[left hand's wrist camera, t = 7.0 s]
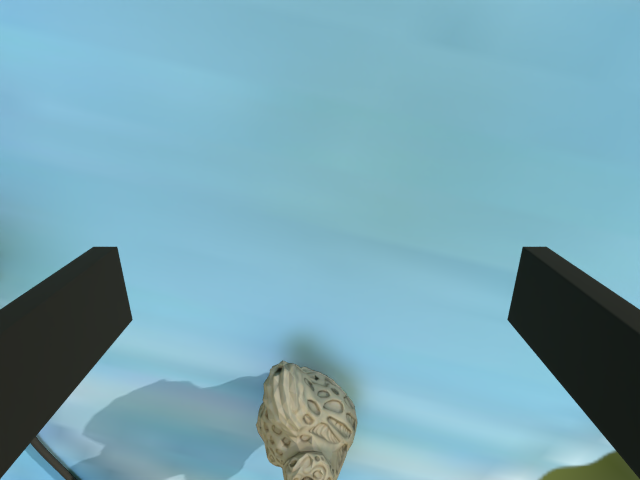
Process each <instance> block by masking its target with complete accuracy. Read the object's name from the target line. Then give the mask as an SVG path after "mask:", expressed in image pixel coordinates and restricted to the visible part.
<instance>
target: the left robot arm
mask: <svg viewBox="0 0 640 480" xmlns="http://www.w3.org/2000/svg"><path fill="white" fill-rule="evenodd" d="M131 321H132V315H131V310H130V306H129V301H128V296H127V291H126V287H125V282H124V277H123V272H122V267H121V263H120V258H119V253H118V248H117V247H93V248H91V249H90V250H88V251H87V252H85V253H84V254H82V255H81V256H79V257H78V258H76V259H75V260H73V261H72V262H70V263H69V264H67V265H66V266H64V267H63V268H61V269H60V270H58V271H57V272H55V273H54V274H52V275H51V276H49V277H48V278H47V279H45V280H44V281H42V282H41V283H39V284H38V285H36V286H35V287H33V288H32V289H30V290H29V291H27V292H26V293H24V294H23V295H21V296H20V297H18V298H17V299H15V300H14V301H12V302H11V303H9V304H8V305H6V306H5V307H3V308H2V309H1V310H0V479H1V477H2V476H3V475H4V474H5V473H6V471H7V470H8V469H9V468H10V467H11V465H12V464H13V463H14V462H15V460H16V459H17V458H18V457H19V456H20V454H21V453H22V452H23V451H24V450H25V448H26V447H27V446H28V445H29V444H30V442H31V441H32V440H33V439H34V438H35V436H36V435H37V434H38V433H39V432H40V430H41V429H42V428H43V427H44V426H45V424H46V423H47V422H48V421H49V420H50V418H51V417H52V416H53V415H54V414H55V412H56V411H57V410H58V409H59V408H60V406H61V405H62V404H63V403H64V402H65V400H66V399H67V398H68V397H69V396H70V394H71V393H72V392H73V391H74V390H75V388H76V387H77V386H78V385H79V384H80V382H81V381H82V380H83V379H84V378H85V376H86V375H87V374H88V373H89V371H90V370H91V369H92V368H93V367H94V365H95V364H96V363H97V362H98V361H99V359H100V358H101V357H102V356H103V355H104V353H105V352H106V351H107V350H108V349H109V347H110V346H111V345H112V344H113V343H114V341H115V340H116V339H117V338H118V337H119V335H120V334H121V333H122V332H123V331H124V329H125V328H126V327H127V326H128V325H129V323H130V322H131ZM508 321H509V322H510V323H511V325H512V326H513V327H514V328H515V329H516V331H517V332H518V333H519V334H520V335H521V337H522V338H523V339H524V340H525V341H526V343H527V344H528V345H529V346H530V347H531V349H532V350H533V351H534V352H535V353H536V355H537V356H538V357H539V358H540V359H541V361H542V362H543V363H544V364H545V365H546V367H547V368H548V369H549V370H550V371H551V373H552V374H553V375H554V376H555V378H556V379H557V380H558V381H559V382H560V384H561V385H562V386H563V387H564V388H565V390H566V391H567V392H568V393H569V394H570V396H571V397H572V398H573V399H574V400H575V402H576V403H577V404H578V405H579V406H580V408H581V409H582V410H583V411H584V412H585V414H586V415H587V416H588V417H589V418H590V420H591V421H592V422H593V423H594V424H595V426H596V427H597V428H598V429H599V430H600V432H601V433H602V434H603V435H604V436H605V438H606V439H607V440H608V441H609V442H610V444H611V445H612V446H613V447H614V448H615V450H616V451H617V452H618V453H619V454H620V456H621V457H622V458H623V459H624V460H625V462H626V463H627V464H628V465H629V467H630V468H631V469H632V470H633V471H634V472H635V474H636V475H637V476H638V477H639V478H640V310H639V309H638V308H637V307H635V306H634V305H632V304H631V303H629V302H628V301H626V300H625V299H623V298H622V297H620V296H619V295H617V294H616V293H614V292H613V291H611V290H610V289H608V288H607V287H605V286H604V285H602V284H601V283H599V282H598V281H596V280H595V279H593V278H592V277H591V276H589V275H588V274H586V273H585V272H583V271H582V270H580V269H579V268H577V267H576V266H574V265H573V264H571V263H570V262H568V261H567V260H565V259H564V258H562V257H561V256H559V255H558V254H556V253H555V252H553V251H552V250H550V249H549V248H547V247H523V248H522V253H521V258H520V263H519V267H518V272H517V277H516V282H515V287H514V291H513V296H512V301H511V306H510V310H509V315H508Z"/></svg>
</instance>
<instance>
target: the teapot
mask: <svg viewBox="0 0 640 480" xmlns="http://www.w3.org/2000/svg"><path fill="white" fill-rule="evenodd" d="M346 395H347V394H346V393H345V392H344V391H343V390H342V389H341V387H340V386H338V385H337V384H336V383H335V381H334V380H333V379H331V378H329V377H328V376H326V375H324V374H322V373H320V372H317V371H314V370H311V369H309V368H307V367H302V368H300V367H299V366H298V365H296V364H293V363H287V362H285V361H282V362H280V363H279V364H277V365H275V366H272V368H271V369H270V374H269V376H268V378H267V379H266V381H265V382H264V396H263V403H262V405H261V406H260V409H259V414H258V422H257V424H256V426H257V430H258V433H259V434H260V436H261V438H262V439H263V441H264V443H265V448H266V453H267V458H268V460H269V462H270V463H272V464H273V465H275V466H278V467H281V468H282V469H283V476H284V480H337V478H338V476H339V473H340V470H341V468H342V465H343V463H344V460H345V457H346V454H347V451H348V450H349V448H350V446H351V445H352V443H353V440H354V436H355V432H356V427H357V418H356V412H355V407H354V404H353V402H352V401H351V399H350V398H349V397H348V396H346Z"/></svg>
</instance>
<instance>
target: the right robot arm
mask: <svg viewBox="0 0 640 480" xmlns="http://www.w3.org/2000/svg"><path fill="white" fill-rule="evenodd" d="M30 443H31V444H32V446H33V447H34V448H35V449H36V450H37V451H38V452H39V453H40V455H41V456H42V457H43V458H44V459H45V460H46V461H47V462H48V463H49V464H51V465H52V466H53V467H54V468H55V469H56V470H57V471H58V472H59V473H60V474H61V475H62V476H63V477H64V478H65V479H66V480H77V479H76V478H75V477H74V476H73V475H72V474H71V473H70V472H69V471H68V470H67V469H66V468H65V467H64V466H63V465H62V464H61V463H60V462H59V461H58V460H57V459H56V458H55V457H54V456H53V455H52V454H51V453H50V452H49V451H48V450H47V449H46V448H45V447H44V446H43V445H42V444H41V442H40V441H39V440H38V439H37V438H36V436H35V438H34V439H33V440H32V441H31V442H30Z"/></svg>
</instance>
